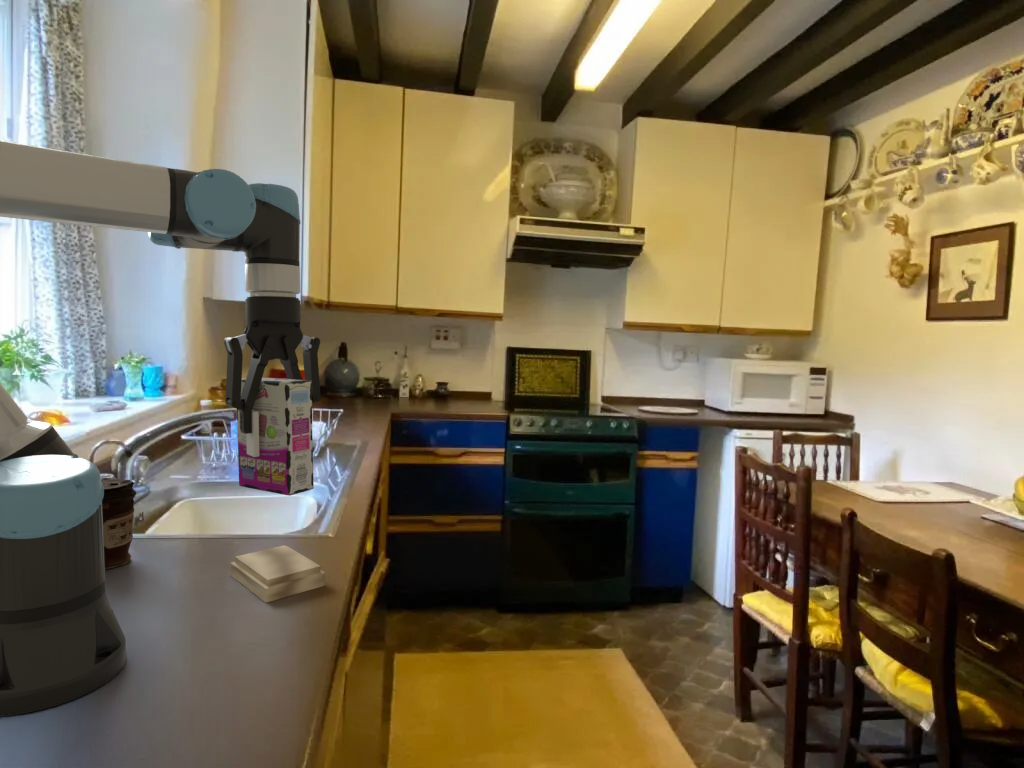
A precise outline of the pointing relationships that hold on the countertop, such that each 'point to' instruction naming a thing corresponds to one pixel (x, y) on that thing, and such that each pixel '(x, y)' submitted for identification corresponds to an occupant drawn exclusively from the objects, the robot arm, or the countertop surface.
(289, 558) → the plinth
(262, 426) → the candy bar box
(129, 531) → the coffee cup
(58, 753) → the countertop surface
